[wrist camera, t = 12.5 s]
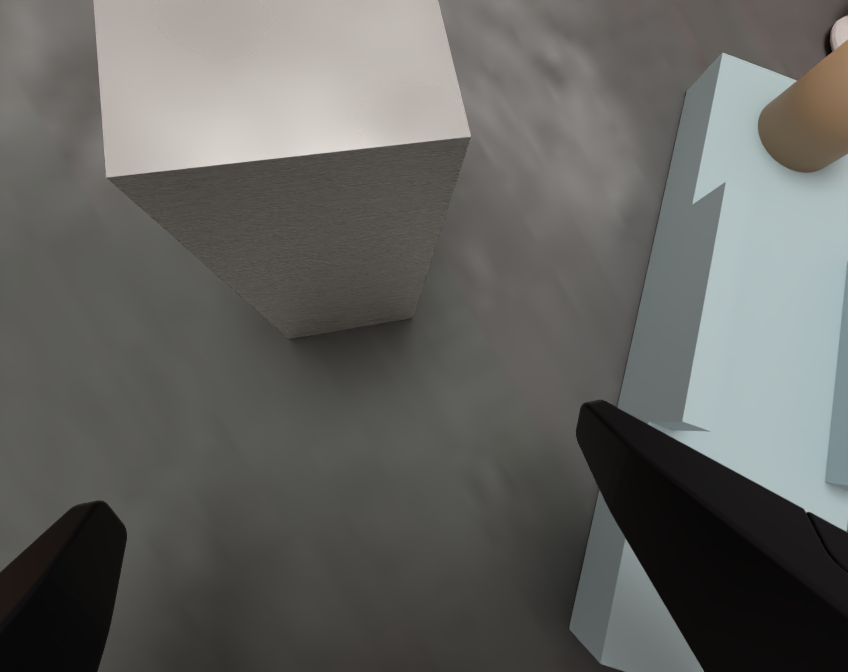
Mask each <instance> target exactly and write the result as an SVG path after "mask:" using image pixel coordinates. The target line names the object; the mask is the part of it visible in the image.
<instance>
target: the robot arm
mask: <svg viewBox="0 0 848 672" xmlns="http://www.w3.org/2000/svg"><path fill="white" fill-rule="evenodd" d="M576 437H577V441H578V444H579V446H580V448H581V450H582V452H583V455H584V457H585V459H586V461H587V463H588V466H589V468H590V470H591V472H592V474H593V476H594V479H595V481H596V483H597V485H598V487H599V490H600V492H601V494H602V496H603V498H604V500H605V502H606V505H607V507H608V509H609V511H610V512H611V514H612V516H613V518H614V520H615V521H616V523H617V525H618V526H619V528H620V530H621V532H622V533H623V535H624V537H625V538H626V540H627V542H628V543H629V545H630V547H631V549H632V550H633V552H634V554H635V555H636V557H637V559H638V560H639V562H640V564H641V566H642V567H643V569H644V571H645V572H646V574H647V576H648V577H649V579H650V581H651V583H652V584H653V586H654V588H655V589H656V591H657V593H658V594H659V596H660V598H661V600H662V601H663V603H664V605H665V606H666V608H667V610H668V611H669V613H670V615H671V617H672V618H673V620H674V622H675V623H676V625H677V627H678V628H679V630H680V632H681V634H682V635H683V637H684V639H685V640H686V642H687V644H688V645H689V647H690V649H691V651H692V652H693V654H694V656H695V657H696V659H697V661H698V662H699V664H700V666H701V668H702V669H703V671H704V672H848V532H847V531H845V530H843V529H841V528H839V527H837V526H835V525H833V524H831V523H830V522H828V521H826V520H824V519H822V518H820V517H819V516H817V515H815V514H813V513H811V512H806V511H805V510H804V509H803V508H802V507H800V506H798V505H796V504H794V503H792V502H791V501H789V500H787V499H785V498H783V497H781V496H780V495H778V494H776V493H774V492H772V491H770V490H768V489H767V488H765V487H763V486H761V485H759V484H757V483H756V482H754V481H752V480H750V479H748V478H746V477H745V476H743V475H741V474H739V473H737V472H735V471H733V470H732V469H730V468H728V467H726V466H724V465H722V464H721V463H719V462H717V461H715V460H713V459H711V458H710V457H708V456H706V455H704V454H702V453H700V452H698V451H697V450H695V449H693V448H691V447H689V446H687V445H686V444H684V443H682V442H680V441H678V440H676V439H675V438H673V437H671V436H669V435H667V434H665V433H663V432H662V431H660V430H658V429H656V428H654V427H652V426H651V425H649V424H647V423H645V422H643V421H641V420H639V419H638V418H636V417H634V416H632V415H630V414H628V413H627V412H625V411H623V410H621V409H619V408H617V407H616V406H614V405H612V404H610V403H608V402H606V401H604V400H596V401H591V402H586V403H583V405H582V406H581V408H580V413H579V418H578V423H577V428H576ZM126 541H127V532H126V528H125V526H124V524H123V523H122V521H121V520H120V519H119V518H118V516H117V515H116V514H115V513H114V511H113V510H112V509H111V508H110V506H109V505H108V504H107V503H106V502H104V501H93V502H88V503H83V504H79V505H76V506H74V507H72V508H71V509H70V510H68V511H67V512H66V513H65V514H64V515H63V516H62V517H61V518H60V519H59V520H57V521H56V522H55V523H54V524H53V525H52V526H51V527H50V528H49V529H47V530H46V531H45V532H44V533H43V534H42V535H41V536H40V537H39V538H38V539H36V540H35V541H34V542H33V543H32V544H31V545H30V546H29V547H28V548H27V549H25V550H24V551H23V552H22V553H21V554H20V555H19V556H18V557H17V558H16V559H14V560H13V561H12V562H11V563H10V564H9V565H8V566H7V567H6V568H4V569H3V570H2V571H1V572H0V672H97V671H98V668H99V665H100V661H101V658H102V655H103V651H104V648H105V644H106V640H107V637H108V633H109V629H110V625H111V620H112V616H113V610H114V605H115V600H116V594H117V589H118V584H119V578H120V573H121V568H122V562H123V557H124V552H125V546H126Z"/></svg>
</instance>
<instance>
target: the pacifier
mask: <svg viewBox="0 0 848 672" xmlns="http://www.w3.org/2000/svg"><path fill="white" fill-rule="evenodd" d="M846 40H848V15H847V16H845V17H843V18H841V19H839V20H837V21H836V23H835V25H834V26H833V28H832V30H831V34H830V44H831V48H832V52H833V51H834V50H835V49H837V48H838V47H839V46H840V45H842V44H843V43H844V42H845V41H846Z"/></svg>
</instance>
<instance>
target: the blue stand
mask: <svg viewBox="0 0 848 672" xmlns="http://www.w3.org/2000/svg"><path fill="white" fill-rule="evenodd" d="M617 408H619V409H621V410H623V411H625V412H627V413H628V414H630V415H632V416H634V417H636V418H638V419H639V420H641V421H643V422H645V423H647V424H649V425H651V426H652V427H654V428H656V429H658V430H660V431H662V432H663V433H665V434H667V435H669V436H671V437H673V438H675V439H676V440H678V441H680V442H682V443H684V444H686V445H687V446H689V447H691V448H693V449H695V450H697V451H698V452H700V453H702V454H704V455H706V456H708V457H710V458H711V459H713V460H715V461H717V462H719V463H721V464H722V465H724V466H726V467H728V468H730V469H732V470H733V471H735V472H737V473H739V474H741V475H743V476H745V477H746V478H748V479H750V480H752V481H754V482H756V483H757V484H759V485H761V486H763V487H765V488H767V489H768V490H770V491H772V492H774V493H776V494H778V495H780V496H781V497H783V498H785V499H787V500H789V501H791V502H792V503H794V504H796V505H798V506H800V507H802V508H803V509H804V510H805V511H806V512H811V513H813V514H815V515H817V516H819V517H820V518H822V519H824V520H826V521H828V522H830V523H831V524H833V525H835V526H837V527H839V528H841V529H843V530H845V531H847V522H848V40H846V41H845V42H844V43H843V44H842V45H840V46H839V47H838V48H837V49H835V50H834V51H833V52H832V53H830V54H829V55H828V56H827V57H826V58H824V59H823V60H822V61H821V62H819V63H818V64H817V65H816V66H814V67H813V68H812V69H811V70H810V71H808V72H807V73H806V74H805V75H803V76H802V77H801V78H800V79H798V80H797V81H796V80H794V79H791V78H788V77H786V76H783V75H781V74H778V73H775V72H773V71H770V70H767V69H765V68H762V67H759V66H757V65H754V64H752V63H749V62H746V61H744V60H741V59H738V58H736V57H733V56H730V55H728V54H725V53H722V54H721V55H720V56H719V57H718V58H717V59H716V60H715V61H714V62H713V64H712V65H711V66H710V67H709V68H708V69H707V70H706V71H705V72H704V73H703V74H702V75H701V76H700V77H699V79H698V80H697V81H696V82H695V83H694V84H693V85H692V86H691V87H690V88H689V89H688V90H687V91H686V96H685V101H684V105H683V110H682V114H681V119H680V123H679V128H678V133H677V137H676V142H675V146H674V151H673V155H672V160H671V165H670V169H669V174H668V178H667V183H666V187H665V192H664V197H663V201H662V206H661V210H660V215H659V219H658V224H657V229H656V233H655V238H654V242H653V247H652V251H651V256H650V261H649V265H648V270H647V274H646V279H645V283H644V288H643V293H642V297H641V302H640V306H639V311H638V315H637V320H636V324H635V329H634V334H633V338H632V343H631V347H630V352H629V356H628V361H627V366H626V370H625V375H624V379H623V384H622V388H621V393H620V398H619V402H618V407H617ZM569 630H570V631H571V632H572V633H573V634H574V635H575V636H576V637H577V639H578V640H579V641H580V642H581V643H582V644H583V645H584V646H585V647H586V649H587V650H588V651H589V652H590V653H591V654H592V655H593V656H594V657H595V658H596V660H597V661H598V662H599V663H600V664H602V665H606V666H609V667H612V668H615V669H618V670H621V671H624V672H704V671H703V669H702V668H701V666H700V664H699V662H698V661H697V659H696V657H695V656H694V654H693V652H692V651H691V649H690V647H689V645H688V644H687V642H686V640H685V639H684V637H683V635H682V634H681V632H680V630H679V628H678V627H677V625H676V623H675V622H674V620H673V618H672V617H671V615H670V613H669V611H668V610H667V608H666V606H665V605H664V603H663V601H662V600H661V598H660V596H659V594H658V593H657V591H656V589H655V588H654V586H653V584H652V583H651V581H650V579H649V577H648V576H647V574H646V572H645V571H644V569H643V567H642V566H641V564H640V562H639V560H638V559H637V557H636V555H635V554H634V552H633V550H632V549H631V547H630V545H629V543H628V542H627V540H626V538H625V537H624V535H623V533H622V532H621V530H620V528H619V526H618V525H617V523H616V521H615V520H614V518H613V516H612V514H611V512H610V511H609V509H608V507H607V505H606V502H605V500H604V498H603V496H602V494H601V492H600V490H599V494H598V498H597V503H596V507H595V512H594V516H593V521H592V526H591V530H590V535H589V539H588V544H587V548H586V553H585V558H584V562H583V567H582V571H581V576H580V580H579V585H578V590H577V594H576V599H575V603H574V608H573V612H572V617H571V621H570V626H569Z"/></svg>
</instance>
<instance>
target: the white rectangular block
mask: <svg viewBox="0 0 848 672" xmlns="http://www.w3.org/2000/svg"><path fill="white" fill-rule="evenodd" d="M94 13H95V27H96V41H97V55H98V69H99V83H100V97H101V111H102V125H103V139H104V153H105V167H106V178H107V179H109V180H110V181H111V182H112V183H113V184H114V185H115V186H116V187H118V188H119V189H120V190H121V191H122V192H123V193H124V194H126V195H127V196H128V197H129V198H130V199H131V200H132V201H133V202H135V203H136V204H137V205H138V206H139V207H140V208H141V209H142V210H144V211H145V212H146V213H147V214H148V215H149V216H150V217H152V218H153V219H154V220H155V221H156V222H157V223H158V224H159V225H161V226H162V227H163V228H164V229H165V230H166V231H167V232H169V233H170V234H171V235H172V236H173V237H174V238H175V239H176V240H178V241H179V242H180V243H181V244H182V245H183V246H184V247H186V248H187V249H188V250H189V251H190V252H191V253H192V254H193V255H195V256H196V257H197V258H198V259H199V260H200V261H201V262H202V263H204V264H205V265H206V266H207V267H208V268H209V269H210V270H212V271H213V272H214V273H215V274H216V275H217V276H218V277H219V278H221V279H222V280H223V281H224V282H225V283H226V284H227V285H229V286H230V287H231V288H232V289H233V290H234V291H235V292H236V293H238V294H239V295H240V296H241V297H242V298H243V299H244V300H245V301H247V302H248V303H249V304H250V305H251V306H252V307H253V308H255V309H256V310H257V311H258V312H259V313H260V314H261V315H262V316H264V317H265V318H266V319H267V320H268V321H269V322H270V323H272V324H273V325H274V326H275V327H276V328H277V329H278V330H279V331H281V332H282V333H283V334H284V335H285V336H286V337H287V338H288V339H293V338H299V337H305V336H311V335H317V334H323V333H328V332H334V331H340V330H346V329H352V328H358V327H364V326H369V325H375V324H381V323H387V322H393V321H399V320H405V319H411V318H413V316H414V313H415V309H416V306H417V303H418V300H419V297H420V294H421V291H422V288H423V285H424V281H425V278H426V275H427V272H428V269H429V266H430V263H431V260H432V257H433V253H434V250H435V247H436V244H437V241H438V238H439V235H440V232H441V229H442V225H443V222H444V219H445V216H446V213H447V210H448V207H449V204H450V200H451V197H452V194H453V191H454V188H455V185H456V182H457V179H458V176H459V172H460V169H461V166H462V163H463V160H464V157H465V154H466V151H467V148H468V144H469V141H470V138H471V134H470V130H469V126H468V122H467V118H466V114H465V110H464V106H463V102H462V97H461V93H460V89H459V85H458V81H457V77H456V73H455V69H454V64H453V60H452V56H451V52H450V48H449V44H448V40H447V36H446V32H445V27H444V23H443V19H442V15H441V11H440V7H439V3H438V0H94Z"/></svg>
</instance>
